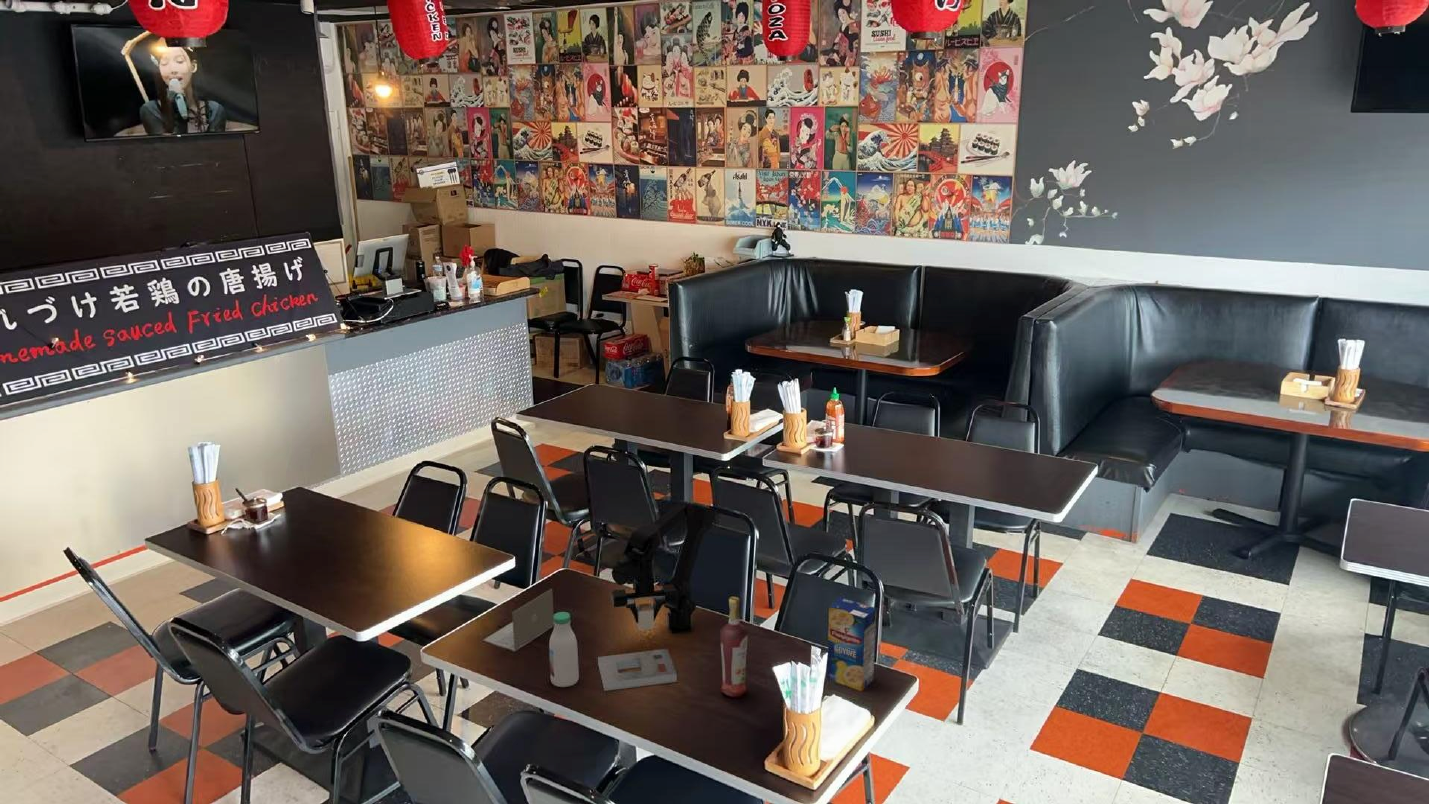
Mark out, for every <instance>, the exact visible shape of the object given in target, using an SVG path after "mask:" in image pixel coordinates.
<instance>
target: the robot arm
mask: <svg viewBox="0 0 1429 804" xmlns="http://www.w3.org/2000/svg"><path fill="white" fill-rule="evenodd" d="M715 518H716V512H715V510H714V508H713V507H711V506H708V505H704V504H701V503H699V502H693V503H692V502H690V501H685V500H677V501H676V502H675V505H674V506H672V507H671V508H670V509H669V510H668V511H666V512H664V514H662V515H661V516H660V517H659V518H657V520H655V521H654V522H653V523H651V524H649V525H644V526H640V527H639V528H637V529H636V530H634V531H632V533H631V535H630V536H629V538H628V542H627V544H626V545H625V548H624V551H623V553H622V556H624V557H625V558H623V559H620V560H617V561H616V565H614V566H613V567H612V569H611V577H612V579H613V581H614V582H615V584H617V585H618V586H624V585H632V590H633V591H634V592H630V593H629V592H628V593H627V592H626V589H613V590H612V592H611V595H610V596H611V602H612V605H613V607H614V608H620V607H625V608H626V609H630V611H631V613H632V615H633V617H634V620H635V623H636V625H637V624H638V615H637V608H636V605H637V604H636V600H643V599H652V607H653V610H654V622H655V621H656V617H657V616H658V614H659V612H660V610H661V608H662V607H663V606H664V608H665V609H668V612H667V613H666V615H667V616H666V619H667V623H666V624H667V627H668V629H669V630H670V633H672V634H676V633H678V634H679V633H685V632H687V633H688V632H693V627H692V615H693V612H695V611H696V609H697V603H696V602H695V601H694V600H692V598H691V595H692V589H691V583H690V579H691V576H692V574H693V570H694V566H695V564H696V561H697V556H698V553H699V550H700V546H701V544H702V540H703V537H704V535H706V534H707V532H709V531H710V530H711V528H712V526H713V524H714V521H715ZM683 521H684V523H685V526H686V535H685V538H684V540H683V544H682V548H681V551H680V553H679V557H678V560H677V564H676V567H675V571H674V574H673V576H672V577H671V578H670V579H669V581H668V580H665V581H664V583H663V585H662V584H661V587H660V588H659V589H655V562H654V561H655V560H654V559H655V558H656V557H657V556H658V555H660V553H659V552H658V551H657V549H658V548H659V546H660V545H661V542H662V539H663V538H664V537H665V536H666V535H667V534H668V533H670V532H671V531H672V530H673V529H675V528H676V527H677V526H678V525H679V524H681V523H682V522H683ZM633 550H635V551H633ZM636 551H637V552H636ZM638 552H639V553H638Z"/></svg>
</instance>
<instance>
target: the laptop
mask: <svg viewBox="0 0 1429 804" xmlns="http://www.w3.org/2000/svg"><path fill="white" fill-rule="evenodd" d="M553 594H554V593H553V588H550V589H548V590H547V591H545V592H544V593H541V594H540V595H538V596H537V597H535V598H533V599H532V600H531V601H528V602H526V603H525V604H523V605H522V606H520V607H519V608H517V609H515V610H514V611H512V612H511V615H512V616H511V618H512V622H510V623H508V624H506V625H505V626H504V627H502V628H500V629H498V630H497V631H495V632H494V633H492V634H491V635H489V636H487V637H486V638H484V639H483V641H484V642H486V643H489V644H491V645H495V646H497V647H499V648H503V649H505V650H509V651H512V652H516V651H519V649H521V648H523V647H524V646H526V645H527V644H529V643H530V642H532V641H533V640H534V639H536V638H538V637H540V636H541V635H543V634H544V633H546V632H547V631H548V630H550V629H551V628H554V623H553V622H554V621H553V616H554V614H555V613H554V601H553V600H554V598H553Z"/></svg>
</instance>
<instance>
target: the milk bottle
mask: <svg viewBox="0 0 1429 804" xmlns="http://www.w3.org/2000/svg"><path fill="white" fill-rule="evenodd" d="M553 621H554V622H553V623H554V626H553V630H552V633H551V635H550V638H549V643H548V644H549V645H548V651H549V671H550V672H549V673H550V681H551V684H552V685H554V686H555V687H558V688H559V687H560V688H567V687H572V686H574V685H575V684H577V682H579V678H580V674H579V654H578V641H577V638H576V635H575V633H574V631H573V629H572V627H571V614H570V613H569V612H566V611H560V612H556V613H554V616H553Z"/></svg>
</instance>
